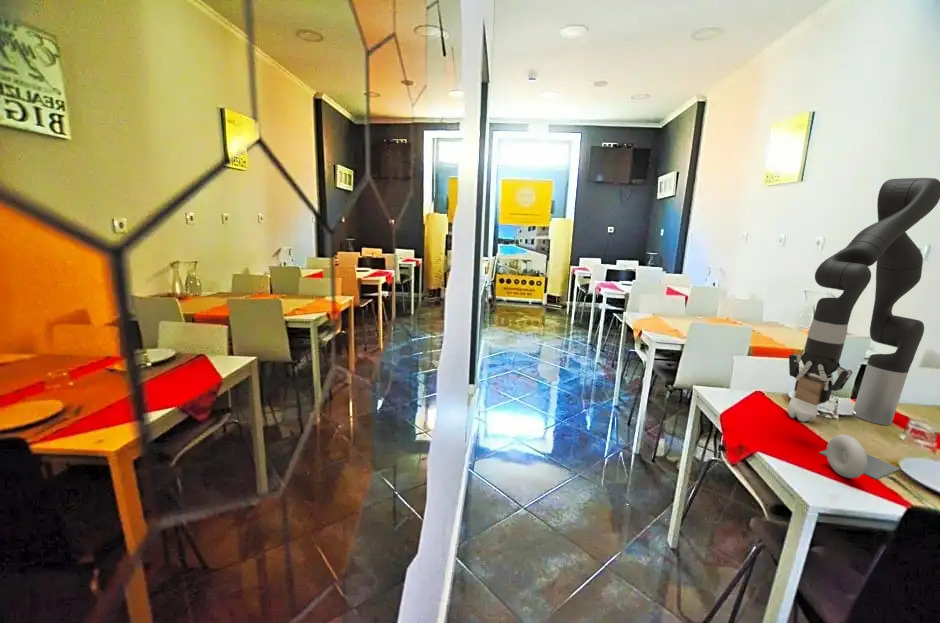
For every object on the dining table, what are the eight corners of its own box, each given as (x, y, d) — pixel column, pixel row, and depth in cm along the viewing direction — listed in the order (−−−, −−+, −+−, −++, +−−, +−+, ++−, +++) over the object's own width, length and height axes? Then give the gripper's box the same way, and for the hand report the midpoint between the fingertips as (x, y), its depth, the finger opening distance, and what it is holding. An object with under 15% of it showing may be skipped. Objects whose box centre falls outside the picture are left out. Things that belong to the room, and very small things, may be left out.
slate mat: (843, 444, 117) (843, 443, 117) (900, 469, 106) (900, 468, 106) (819, 453, 112) (819, 452, 112) (876, 479, 101) (876, 478, 101)
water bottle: (819, 425, 127) (842, 346, 122) (793, 421, 129) (813, 343, 123) (806, 414, 134) (826, 339, 128) (781, 411, 136) (800, 336, 130)
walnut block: (804, 394, 118) (810, 374, 117) (825, 402, 114) (831, 381, 112) (794, 397, 116) (799, 377, 115) (815, 405, 112) (820, 384, 110)
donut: (818, 461, 108) (828, 426, 105) (833, 463, 107) (843, 427, 105) (848, 486, 98) (860, 448, 96) (864, 488, 98) (876, 449, 95)
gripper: (867, 345, 106) (849, 407, 110) (803, 329, 119) (789, 385, 123) (851, 348, 103) (833, 411, 107) (787, 331, 115) (774, 389, 120)
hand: (810, 397), depth 115 cm, fingers closed on walnut block, 5 cm apart
